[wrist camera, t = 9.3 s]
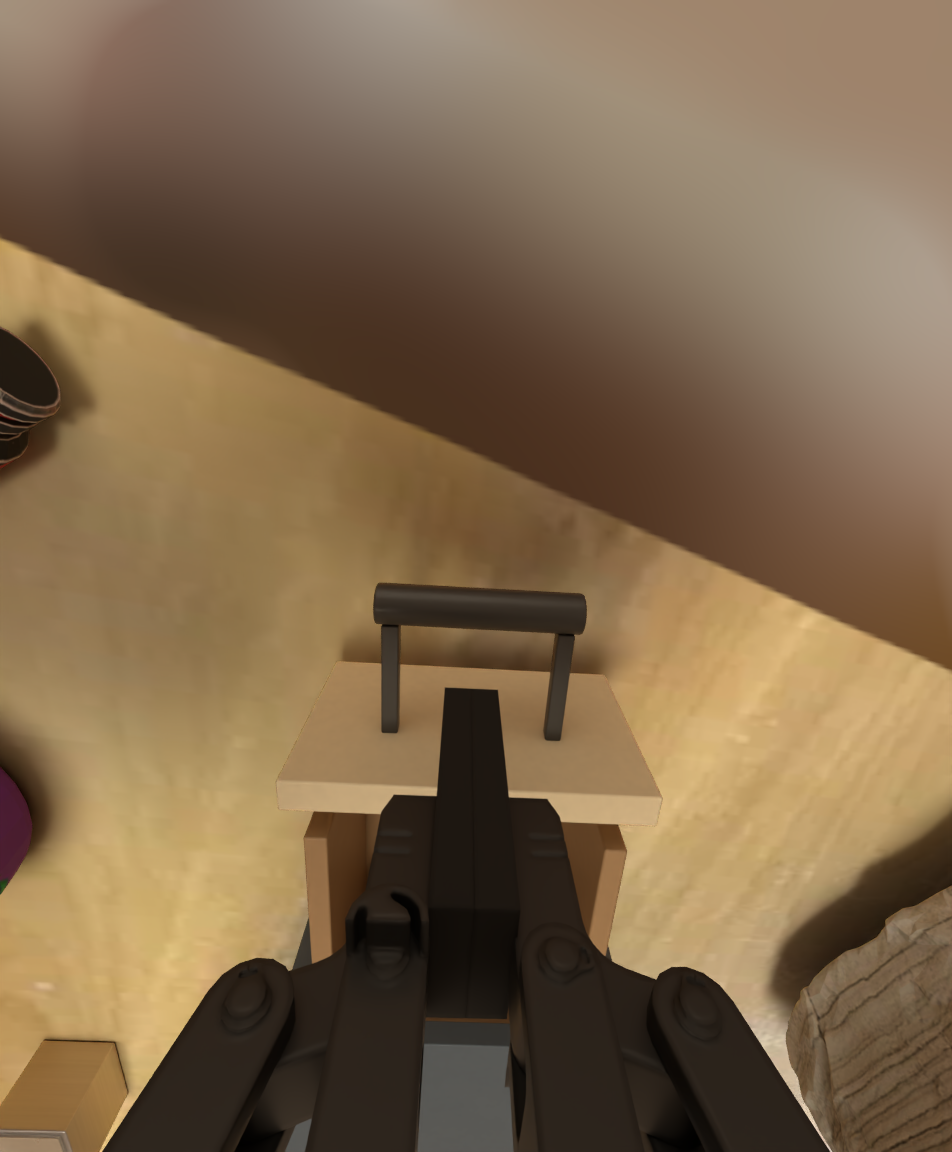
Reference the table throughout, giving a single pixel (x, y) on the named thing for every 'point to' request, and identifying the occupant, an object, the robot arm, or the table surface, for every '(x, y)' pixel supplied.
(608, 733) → the drawer
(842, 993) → the rock sample
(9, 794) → the mug
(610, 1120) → the robot arm
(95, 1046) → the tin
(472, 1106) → the cabinet
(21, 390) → the grenade
